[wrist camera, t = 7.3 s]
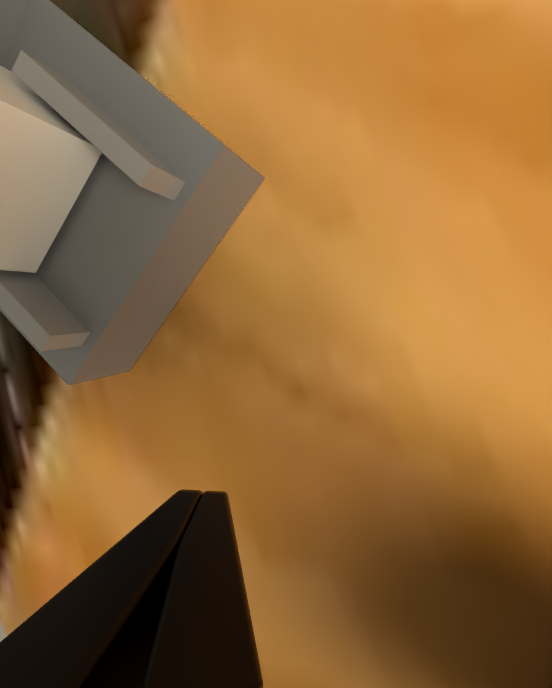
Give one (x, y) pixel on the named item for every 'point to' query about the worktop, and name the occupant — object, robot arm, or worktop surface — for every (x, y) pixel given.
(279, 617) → the worktop surface
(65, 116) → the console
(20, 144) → the white block
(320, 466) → the worktop surface
